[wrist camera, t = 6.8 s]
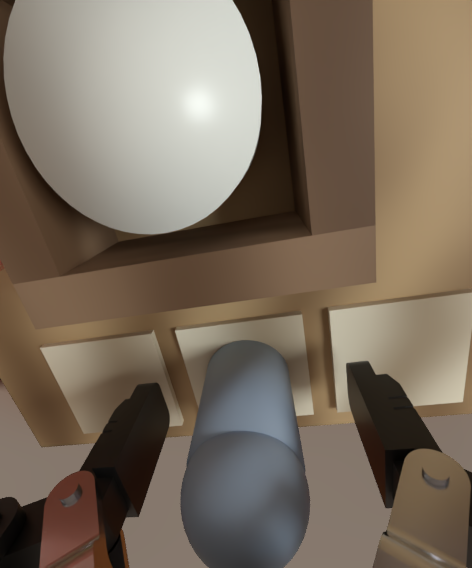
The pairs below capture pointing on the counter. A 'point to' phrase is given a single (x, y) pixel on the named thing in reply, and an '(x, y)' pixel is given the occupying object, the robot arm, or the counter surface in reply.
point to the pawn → (246, 463)
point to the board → (268, 236)
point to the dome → (135, 105)
